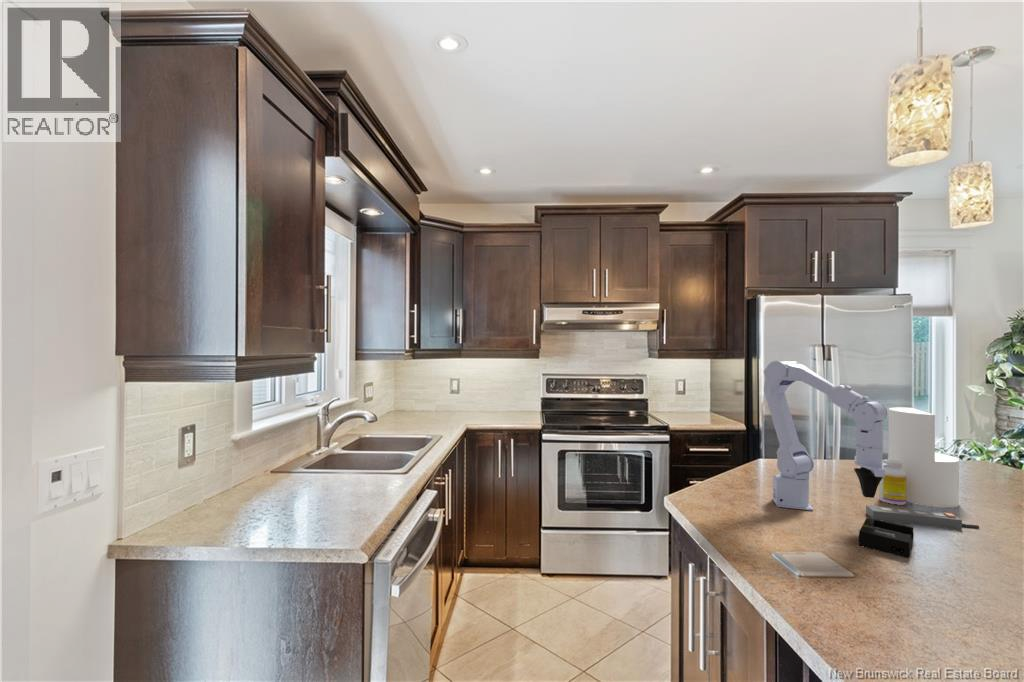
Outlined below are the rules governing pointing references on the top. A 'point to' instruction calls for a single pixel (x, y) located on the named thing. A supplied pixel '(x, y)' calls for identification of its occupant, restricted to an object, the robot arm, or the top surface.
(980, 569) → the top surface
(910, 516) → the power strip
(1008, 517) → the top surface
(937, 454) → the white stepped block
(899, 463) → the supplement bottle
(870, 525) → the battery charger
